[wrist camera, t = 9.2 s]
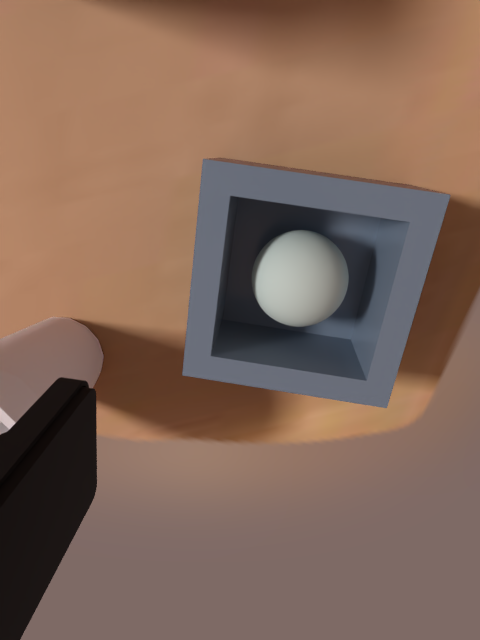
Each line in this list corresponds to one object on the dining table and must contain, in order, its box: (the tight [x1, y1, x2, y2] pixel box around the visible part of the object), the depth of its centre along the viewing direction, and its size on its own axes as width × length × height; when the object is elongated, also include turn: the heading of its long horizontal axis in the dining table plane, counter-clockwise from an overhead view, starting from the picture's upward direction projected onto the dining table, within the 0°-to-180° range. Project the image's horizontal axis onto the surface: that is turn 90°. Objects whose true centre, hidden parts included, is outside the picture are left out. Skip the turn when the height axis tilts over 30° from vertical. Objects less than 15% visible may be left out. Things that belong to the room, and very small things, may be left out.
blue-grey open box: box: [182, 158, 450, 408], centre depth 28 cm, size 13×13×7 cm
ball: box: [252, 230, 349, 327], centre depth 27 cm, size 6×6×6 cm
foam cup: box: [0, 317, 104, 435], centre depth 29 cm, size 10×9×13 cm
